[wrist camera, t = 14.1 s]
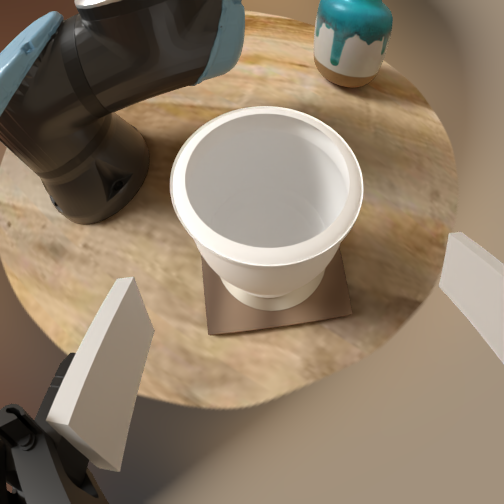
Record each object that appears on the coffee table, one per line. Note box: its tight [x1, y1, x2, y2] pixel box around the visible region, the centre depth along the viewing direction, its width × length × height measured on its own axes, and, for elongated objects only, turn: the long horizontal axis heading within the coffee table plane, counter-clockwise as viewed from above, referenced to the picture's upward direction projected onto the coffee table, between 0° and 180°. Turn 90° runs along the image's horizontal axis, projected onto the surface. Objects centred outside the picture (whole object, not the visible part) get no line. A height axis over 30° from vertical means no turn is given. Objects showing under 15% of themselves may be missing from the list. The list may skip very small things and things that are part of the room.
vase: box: [314, 0, 393, 88], centre depth 30 cm, size 11×11×19 cm
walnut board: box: [201, 247, 352, 335], centre depth 30 cm, size 14×14×1 cm
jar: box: [170, 106, 363, 298], centre depth 22 cm, size 11×10×15 cm
